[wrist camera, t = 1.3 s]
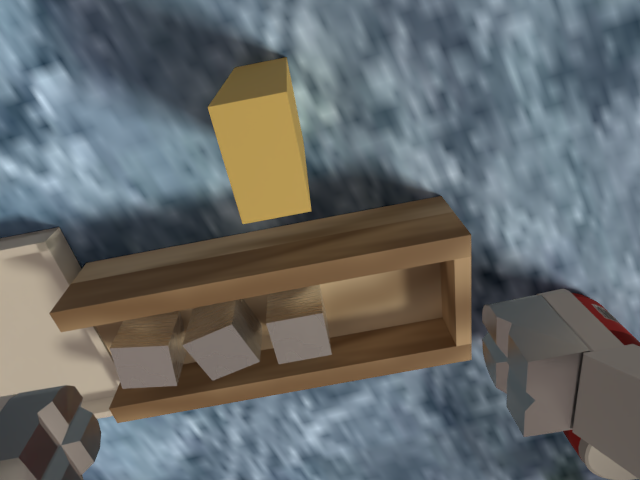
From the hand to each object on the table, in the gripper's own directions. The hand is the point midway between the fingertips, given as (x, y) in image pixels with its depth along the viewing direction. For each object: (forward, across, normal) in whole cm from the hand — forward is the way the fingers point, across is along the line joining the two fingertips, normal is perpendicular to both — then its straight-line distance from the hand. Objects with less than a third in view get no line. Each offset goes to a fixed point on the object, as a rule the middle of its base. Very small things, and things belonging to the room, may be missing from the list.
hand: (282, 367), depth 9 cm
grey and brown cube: (+18, +12, +12) cm, 25 cm away
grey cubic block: (+18, +2, +12) cm, 22 cm away
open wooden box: (+21, +3, +12) cm, 24 cm away
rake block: (+20, +1, -1) cm, 20 cm away
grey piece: (+18, +7, +12) cm, 23 cm away
